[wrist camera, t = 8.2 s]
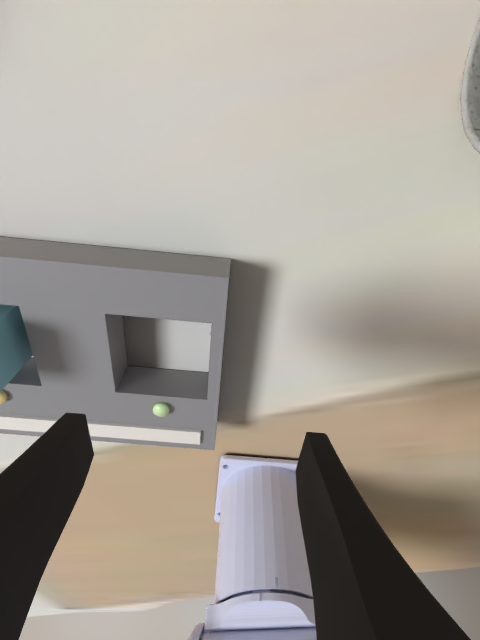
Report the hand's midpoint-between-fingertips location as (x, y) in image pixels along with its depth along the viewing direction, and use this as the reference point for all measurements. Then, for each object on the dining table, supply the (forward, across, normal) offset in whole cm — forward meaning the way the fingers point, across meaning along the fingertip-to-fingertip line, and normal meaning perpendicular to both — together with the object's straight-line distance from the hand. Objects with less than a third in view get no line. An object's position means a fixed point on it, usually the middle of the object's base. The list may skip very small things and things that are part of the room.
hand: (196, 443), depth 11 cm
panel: (+10, +8, +4) cm, 14 cm away
